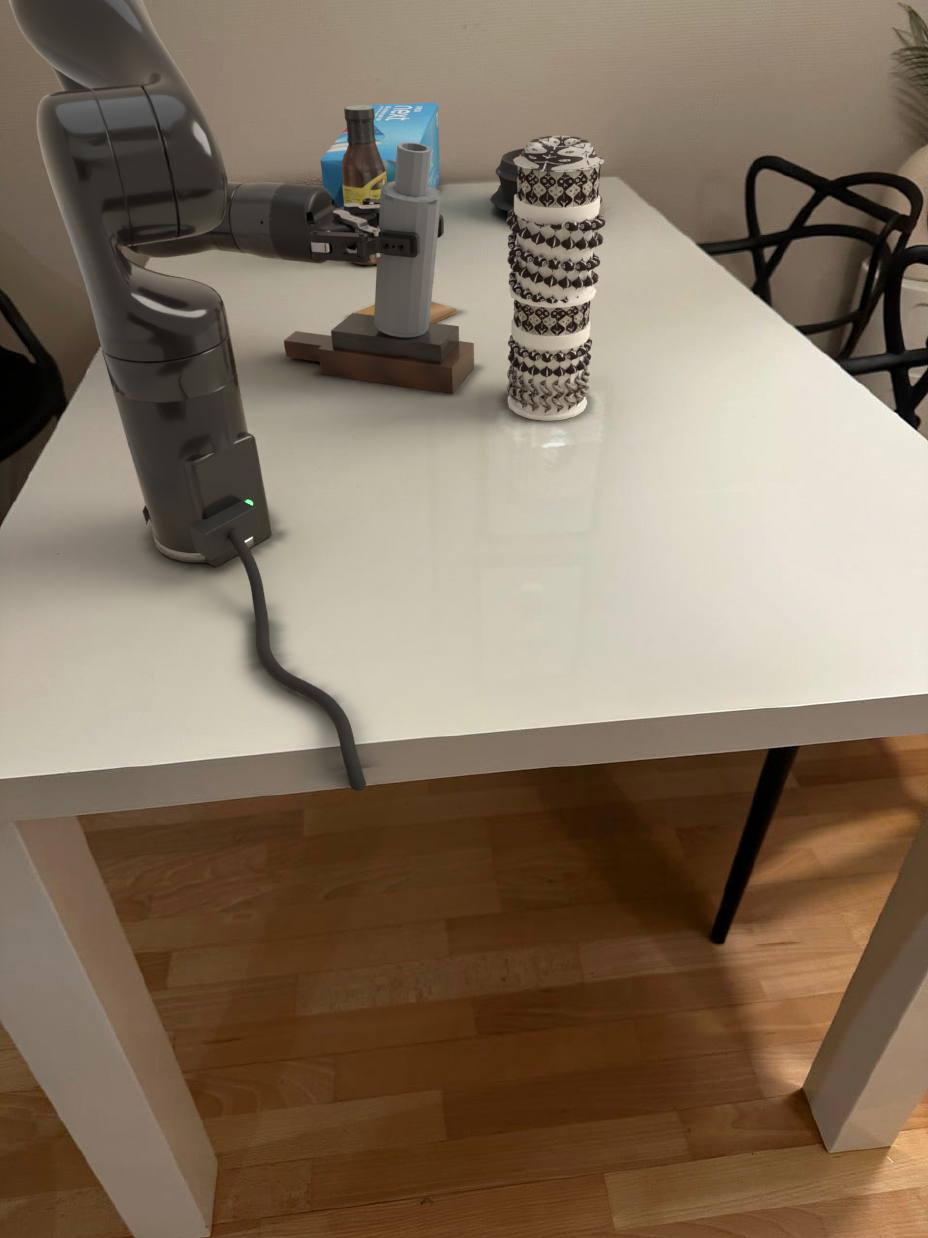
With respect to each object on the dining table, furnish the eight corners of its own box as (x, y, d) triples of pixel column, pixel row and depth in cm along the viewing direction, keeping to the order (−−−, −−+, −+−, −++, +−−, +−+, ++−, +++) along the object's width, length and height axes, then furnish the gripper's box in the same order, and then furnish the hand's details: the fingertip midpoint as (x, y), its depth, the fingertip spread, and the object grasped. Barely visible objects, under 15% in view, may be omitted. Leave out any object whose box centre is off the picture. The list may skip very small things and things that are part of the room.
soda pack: (369, 180, 167) (363, 102, 159) (442, 181, 166) (440, 101, 158) (326, 248, 136) (316, 155, 128) (415, 249, 135) (410, 155, 127)
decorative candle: (519, 428, 91) (527, 157, 75) (493, 389, 98) (494, 134, 82) (603, 415, 92) (628, 148, 77) (571, 379, 99) (588, 127, 83)
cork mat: (456, 312, 115) (456, 308, 115) (406, 335, 110) (406, 331, 109) (402, 296, 120) (402, 292, 120) (352, 317, 114) (352, 313, 114)
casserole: (476, 195, 158) (476, 142, 153) (577, 188, 161) (580, 136, 156) (508, 237, 139) (509, 178, 134) (622, 228, 142) (628, 170, 137)
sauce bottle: (384, 268, 129) (374, 112, 116) (343, 265, 130) (328, 111, 117) (396, 253, 134) (387, 102, 121) (356, 251, 135) (343, 101, 122)
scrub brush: (474, 368, 102) (473, 325, 99) (452, 393, 97) (451, 349, 94) (306, 344, 108) (301, 303, 105) (278, 367, 103) (271, 325, 100)
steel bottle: (439, 328, 99) (458, 151, 87) (401, 342, 95) (414, 160, 83) (401, 308, 101) (414, 134, 89) (362, 321, 98) (370, 141, 86)
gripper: (243, 202, 88) (401, 216, 83) (311, 167, 98) (454, 177, 94) (256, 279, 93) (406, 296, 88) (319, 238, 103) (456, 251, 98)
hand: (430, 235), depth 91 cm, fingers closed on steel bottle, 6 cm apart
